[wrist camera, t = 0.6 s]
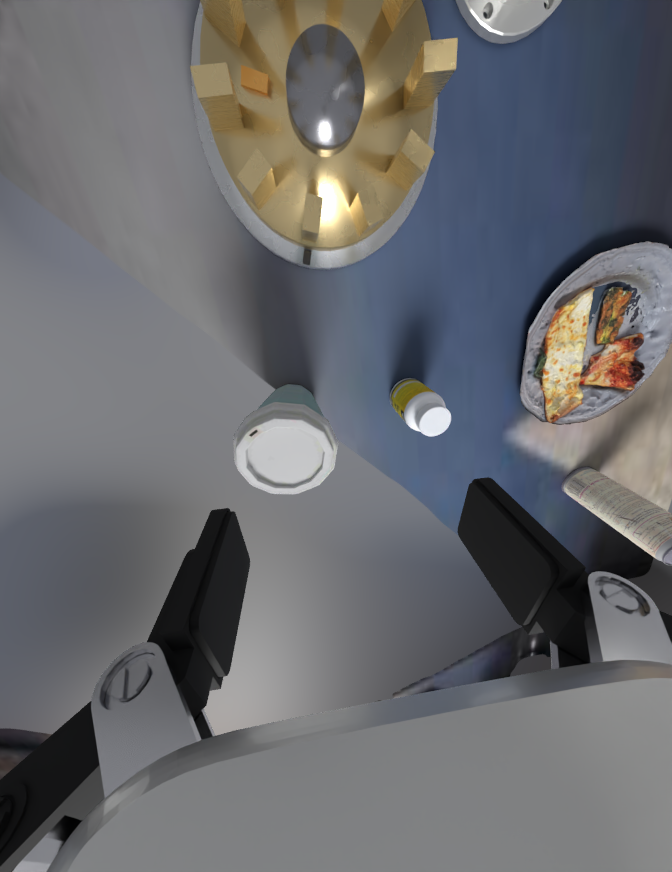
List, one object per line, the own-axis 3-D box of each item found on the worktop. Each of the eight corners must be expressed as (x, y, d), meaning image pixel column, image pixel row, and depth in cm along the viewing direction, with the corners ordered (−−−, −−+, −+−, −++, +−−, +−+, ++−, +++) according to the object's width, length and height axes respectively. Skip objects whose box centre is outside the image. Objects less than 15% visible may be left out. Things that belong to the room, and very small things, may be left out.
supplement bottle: (381, 397, 39) (404, 424, 30) (407, 369, 37) (440, 390, 29) (404, 417, 41) (431, 449, 32) (429, 392, 40) (466, 418, 31)
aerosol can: (560, 497, 55) (683, 590, 37) (562, 474, 51) (699, 564, 34) (592, 486, 54) (732, 575, 37) (596, 461, 51) (752, 546, 34)
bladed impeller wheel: (454, -2, 21) (510, -112, 15) (390, 269, 29) (412, 261, 24) (204, -123, 17) (159, -326, 12) (213, 226, 26) (189, 205, 20)
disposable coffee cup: (341, 410, 39) (362, 465, 26) (288, 450, 41) (282, 520, 28) (294, 353, 34) (291, 386, 21) (237, 402, 37) (202, 459, 23)
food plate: (634, 402, 45) (659, 409, 42) (505, 434, 45) (520, 444, 42) (693, 227, 34) (732, 218, 31) (520, 271, 34) (542, 267, 31)
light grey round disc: (221, -158, 18) (212, -213, 16) (470, 48, 24) (485, 25, 22) (186, 216, 27) (177, 210, 25) (374, 299, 33) (378, 299, 31)
